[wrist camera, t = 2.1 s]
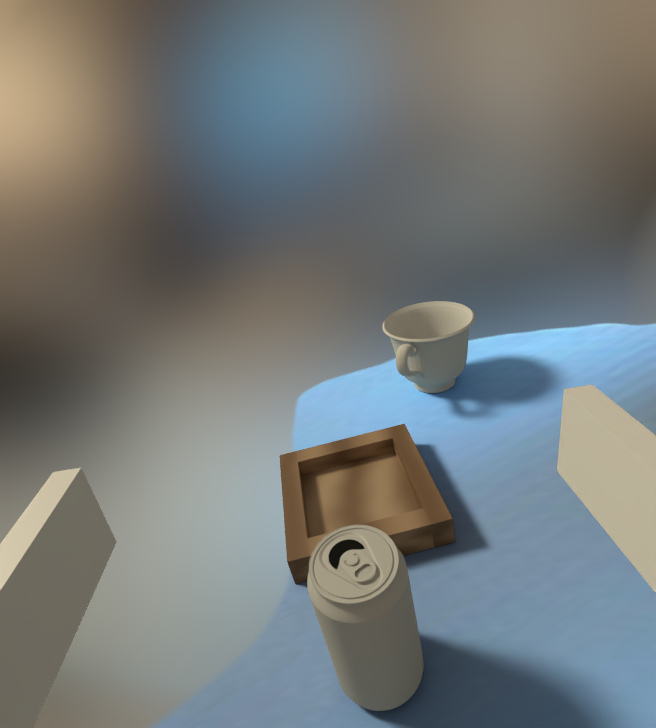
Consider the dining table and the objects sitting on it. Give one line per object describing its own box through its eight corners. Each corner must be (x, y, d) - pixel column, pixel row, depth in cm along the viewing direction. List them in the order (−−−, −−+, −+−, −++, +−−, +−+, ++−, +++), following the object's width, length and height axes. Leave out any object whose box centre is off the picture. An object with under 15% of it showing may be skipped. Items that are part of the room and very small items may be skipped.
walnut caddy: (407, 443, 55) (404, 423, 54) (455, 541, 42) (452, 518, 41) (285, 474, 55) (279, 455, 54) (295, 584, 42) (287, 561, 40)
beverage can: (385, 609, 38) (361, 503, 32) (444, 672, 33) (427, 560, 27) (322, 662, 35) (283, 557, 30) (375, 740, 30) (341, 631, 25)
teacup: (367, 410, 63) (355, 346, 59) (412, 357, 73) (405, 299, 69) (453, 427, 56) (446, 355, 52) (490, 366, 67) (487, 302, 62)
